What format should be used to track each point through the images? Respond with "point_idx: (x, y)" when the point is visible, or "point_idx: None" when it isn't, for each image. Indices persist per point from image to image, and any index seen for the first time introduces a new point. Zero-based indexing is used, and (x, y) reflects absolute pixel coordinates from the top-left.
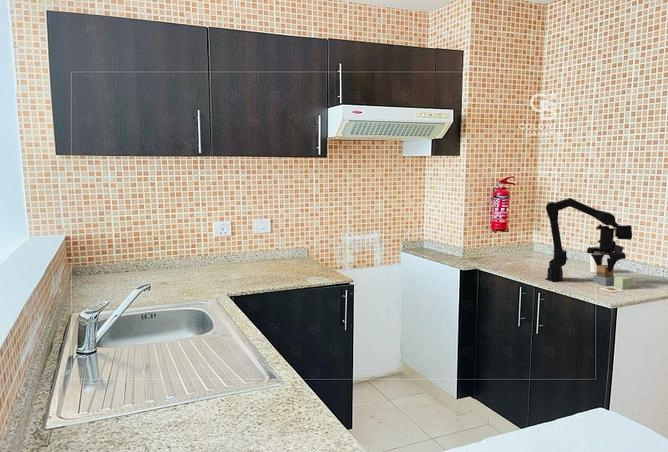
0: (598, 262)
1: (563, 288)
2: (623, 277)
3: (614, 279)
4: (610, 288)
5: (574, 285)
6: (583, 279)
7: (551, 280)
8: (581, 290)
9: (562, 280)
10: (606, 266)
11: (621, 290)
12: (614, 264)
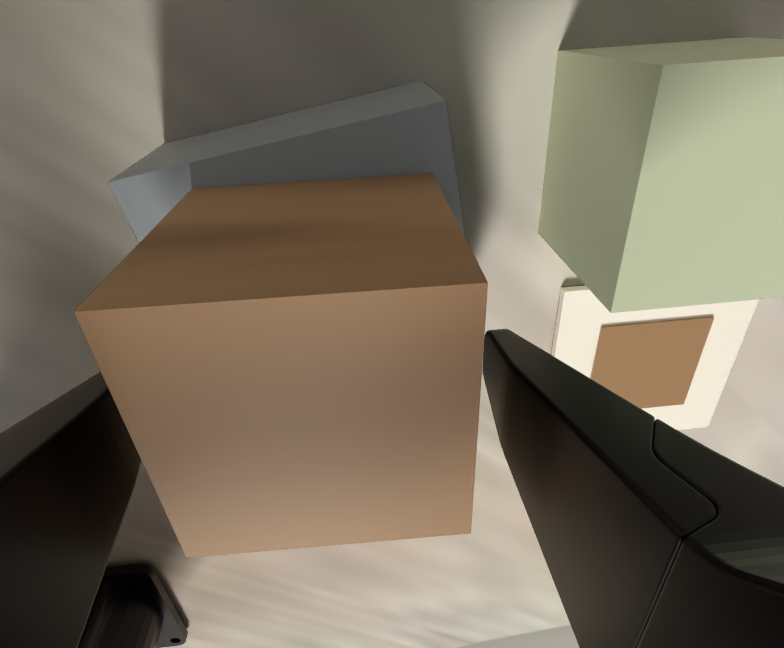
0: (65, 581)
1: (415, 639)
2: (762, 185)
3: (593, 286)
4: (619, 363)
5: (344, 554)
6: (38, 354)
7: (161, 645)
8: (518, 576)
9: (156, 582)
10: (390, 457)
11: (747, 300)
12: (692, 455)
